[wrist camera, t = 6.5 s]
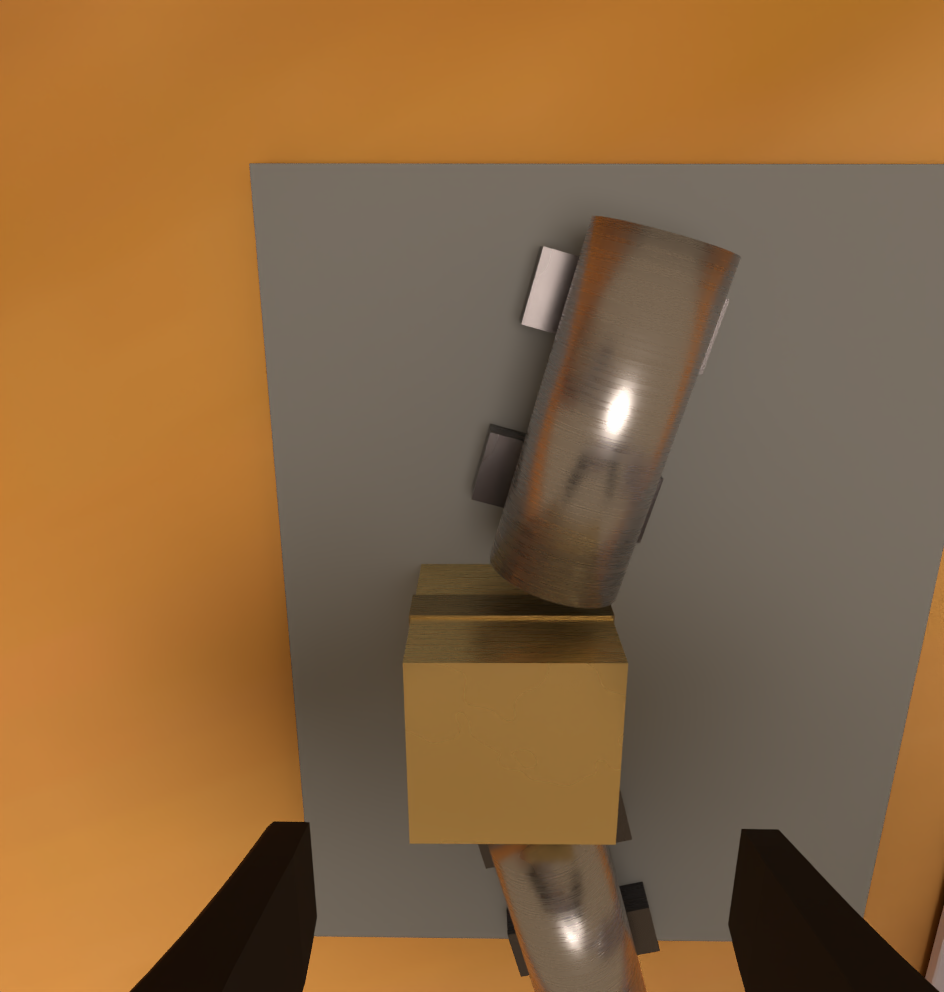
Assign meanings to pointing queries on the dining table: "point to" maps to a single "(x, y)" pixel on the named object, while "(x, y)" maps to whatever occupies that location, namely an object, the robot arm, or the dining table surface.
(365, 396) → the mat
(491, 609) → the tan rectangular block
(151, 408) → the dining table surface
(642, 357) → the shaft
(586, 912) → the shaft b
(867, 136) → the dining table surface
